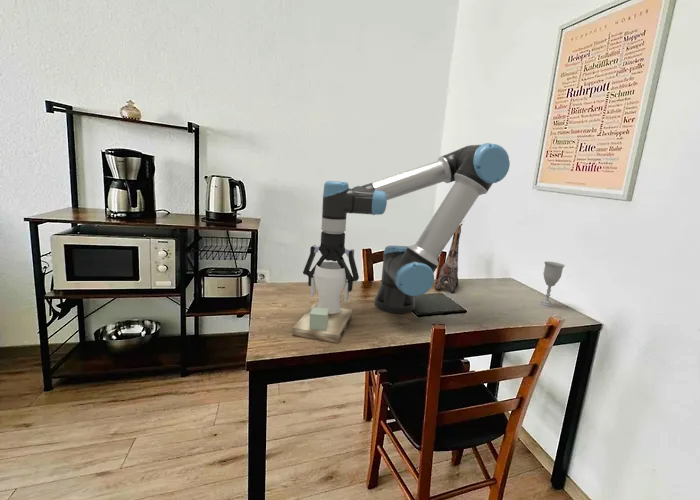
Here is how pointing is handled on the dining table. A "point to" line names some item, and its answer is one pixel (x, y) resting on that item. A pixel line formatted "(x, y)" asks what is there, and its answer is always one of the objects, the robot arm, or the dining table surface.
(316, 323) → the pale green cube
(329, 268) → the cup
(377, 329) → the dining table surface
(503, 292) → the dining table surface
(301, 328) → the dock
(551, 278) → the chalice
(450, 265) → the toy
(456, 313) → the dining table surface
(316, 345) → the dining table surface
